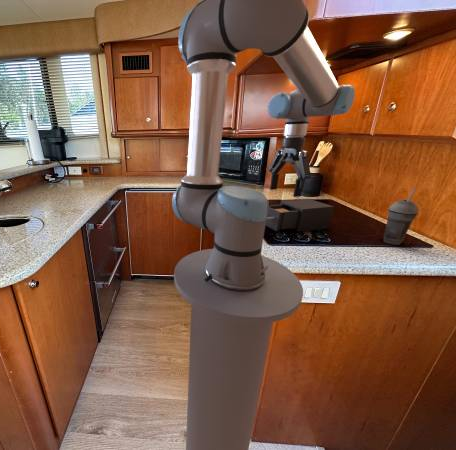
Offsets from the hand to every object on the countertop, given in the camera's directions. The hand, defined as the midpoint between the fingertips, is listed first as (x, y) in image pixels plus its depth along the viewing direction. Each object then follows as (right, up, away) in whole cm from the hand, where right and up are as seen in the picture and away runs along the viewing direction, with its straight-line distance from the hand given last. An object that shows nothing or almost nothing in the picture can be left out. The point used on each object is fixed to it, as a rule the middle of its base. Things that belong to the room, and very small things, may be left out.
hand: (284, 192), depth 96 cm
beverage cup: (+33, -20, -11) cm, 40 cm away
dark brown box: (+12, -13, +7) cm, 19 cm away
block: (+1, -12, +5) cm, 13 cm away
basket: (-1, -13, +5) cm, 14 cm away
